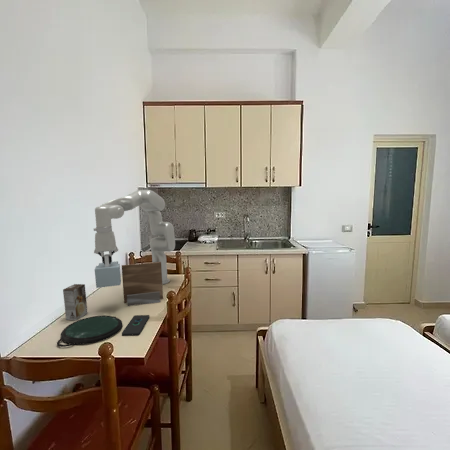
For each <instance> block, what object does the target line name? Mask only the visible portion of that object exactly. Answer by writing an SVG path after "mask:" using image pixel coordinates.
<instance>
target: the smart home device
mask: <svg viewBox="0 0 450 450" xmlns="http://www.w3.org/2000/svg"><path fill="white" fill-rule="evenodd" d="M149 319H150V314H143V315H142V314H139V315H133V317H132V318H131V320H130V321H129V322H128V324H127V325H126V327H124V329H123V330H122V332H121V336H122V337H128V336H129V337H134V336H135V337H138V336H140V335H141V333H142V331H143V330H144V328H145V327H146V325H147V323H148V321H149Z"/></svg>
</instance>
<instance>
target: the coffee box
mask: <svg viewBox="0 0 450 450" xmlns="http://www.w3.org/2000/svg"><path fill="white" fill-rule="evenodd" d="M62 293H63V303H64V310H65V312H64V313H65V320H66V321H78V320H80V319H81V318H83V317H84V316H86V315H87V314H88V305H87V303H88V302H87V293H86V284H83V283H80V284H79V283H78V284H77V283H74V284H71V285H70V286H67V287H66V288H64V289H62Z"/></svg>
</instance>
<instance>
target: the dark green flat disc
mask: <svg viewBox="0 0 450 450" xmlns="http://www.w3.org/2000/svg"><path fill="white" fill-rule="evenodd" d="M122 328H123V321H122V319H120V318H118V317H116V316H114V315H113V316H112V315H94V316H89V317H84V318H82V319H81V318H80V319H78V320H75V321H73V322H72V323H70V324H68V325H67V326H66V327H65V328H63V330H62V331H61V333H60V338H59V339H58V340H57V342H56V345H57V346H58V347H61V348H62V347H63V348H66V347H71V346H73V345H89V344H94V343H98V342H102V341H105V340H107V339H109V338H112V337H114V336H115V335H117V334H118V333H119V332H120V331H121V330H122ZM61 341H63V342H64V343H67V344H61V343H60V342H61Z"/></svg>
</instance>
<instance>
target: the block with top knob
mask: <svg viewBox="0 0 450 450" xmlns="http://www.w3.org/2000/svg"><path fill="white" fill-rule="evenodd" d="M104 255H105V256H104V259H105V264H104V263H102V262H99V263H98V265H96V266H95V267H94V276H95V278H94V279H95V287H96V289H97V288H98V289H99V288H109V287H115V286H116V287H117V286H121V283H122V278H121V277H122V273H121V266H120V264H121V263H119V261H112V262H111V264H109V253H106V254H105V253H104Z"/></svg>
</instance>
